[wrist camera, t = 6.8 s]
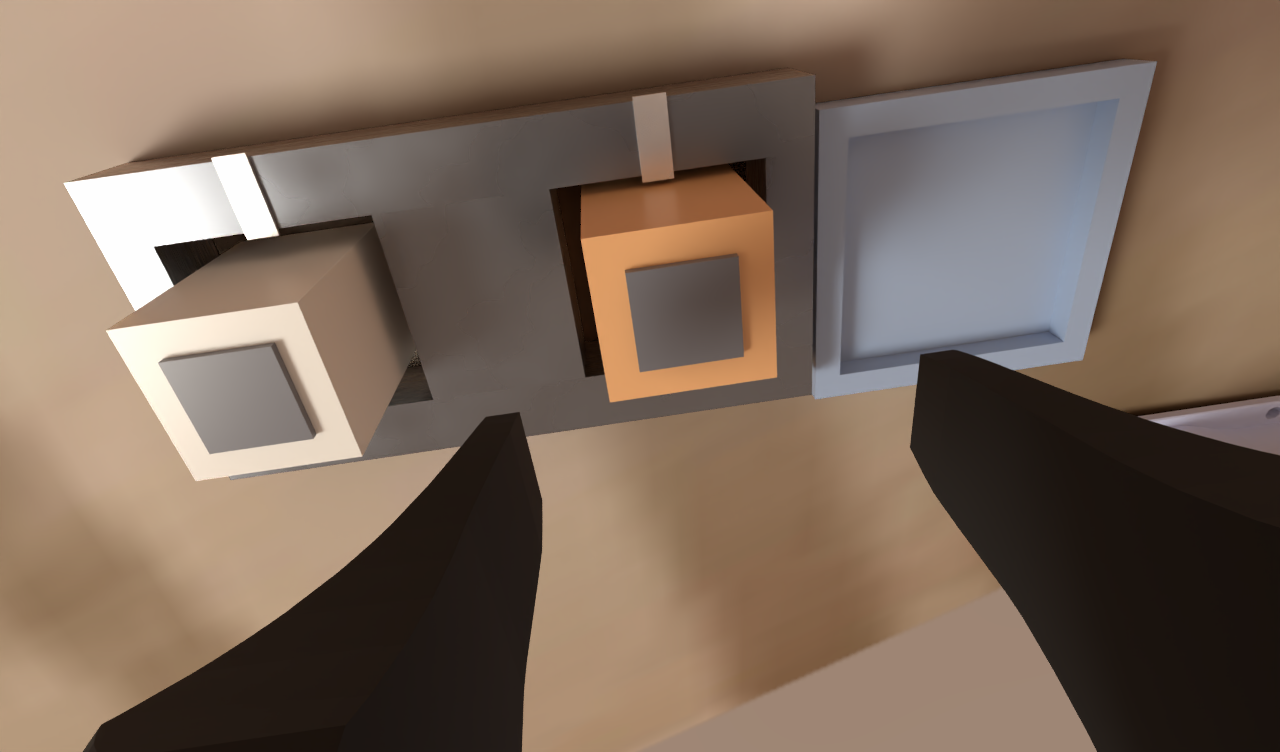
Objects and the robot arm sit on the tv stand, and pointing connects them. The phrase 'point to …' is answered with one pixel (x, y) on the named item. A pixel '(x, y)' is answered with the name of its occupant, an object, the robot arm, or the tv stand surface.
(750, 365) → the plug
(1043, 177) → the tray
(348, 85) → the tv stand surface
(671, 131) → the grey rectangular holder
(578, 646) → the tv stand surface
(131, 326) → the beige box
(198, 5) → the tv stand surface
